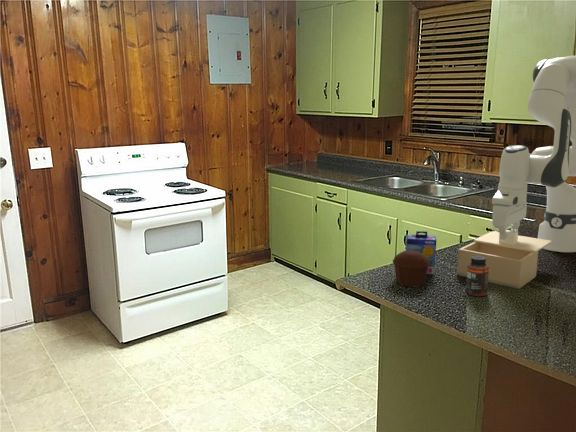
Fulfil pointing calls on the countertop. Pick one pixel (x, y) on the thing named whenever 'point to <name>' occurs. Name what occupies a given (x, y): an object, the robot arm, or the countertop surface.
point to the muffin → (411, 268)
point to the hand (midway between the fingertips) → (508, 236)
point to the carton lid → (514, 241)
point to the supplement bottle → (477, 276)
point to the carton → (500, 263)
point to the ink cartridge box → (423, 247)
